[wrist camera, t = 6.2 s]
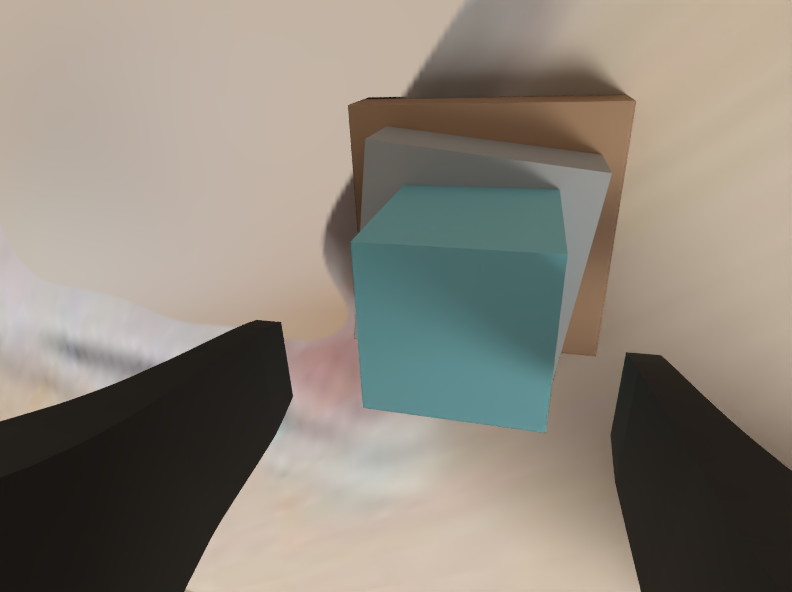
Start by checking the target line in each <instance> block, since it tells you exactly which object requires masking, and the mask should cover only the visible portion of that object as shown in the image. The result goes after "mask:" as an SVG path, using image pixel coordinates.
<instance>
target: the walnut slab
mask: <svg viewBox="0 0 792 592" xmlns="http://www.w3.org/2000/svg"><path fill="white" fill-rule="evenodd" d="M635 105H636V101H635V100H634V99H632V98H631V97H629V96H628V95H586V96H528V97H471V98H414V99H402V97H368V98H366V99H363V100H361V101H358V102H355V103H353V104H350V105H348V111H349V124H350V137H351V150H352V163H353V176H354V189H355V202H356V215H357V229H358V233H359V232H360V224H361V205H362V187H363V169H364V151H365V139H366V138H368V137H369V136H371V135H373V134H374V133H376V132H378V131H379V130H381V129H383V128H384V127H386V126H390V127H397V128H405V129H412V130H420V131H428V132H435V133H443V134H450V135H458V136H465V137H473V138H480V139H488V140H495V141H503V142H510V143H518V144H525V145H533V146H540V147H548V148H555V149H563V150H570V151H578V152H585V153H593V154H600V155H603V157H604V159H605V161H606V163H607V165H608V167H609V168H610V170H611V172H612V175H611V179H610V182H609V186H608V189H607V193H606V196H605V200H604V203H603V207H602V210H601V214H600V218H599V221H598V225H597V228H596V232H595V235H594V239H593V242H592V246H591V249H590V253H589V256H588V260H587V263H586V267H585V270H584V274H583V277H582V281H581V284H580V288H579V291H578V295H577V298H576V302H575V305H574V309H573V312H572V316H571V319H570V323H569V326H568V330H567V333H566V337H565V340H564V344H563V347H562V351H561V353H566V354H577V355H588V356H596V351H597V344H598V338H599V332H600V326H601V319H602V313H603V307H604V300H605V294H606V288H607V281H608V275H609V269H610V263H611V256H612V250H613V244H614V237H615V231H616V225H617V218H618V212H619V206H620V200H621V193H622V187H623V181H624V174H625V168H626V162H627V155H628V149H629V143H630V137H631V130H632V124H633V118H634V111H635Z"/></svg>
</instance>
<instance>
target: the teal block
mask: <svg viewBox="0 0 792 592" xmlns="http://www.w3.org/2000/svg"><path fill="white" fill-rule="evenodd" d="M351 254H352V268H353V281H354V294H355V307H356V321H357V334H358V347H359V361H360V374H361V387H362V400H363V408H368V409H376V410H383V411H390V412H397V413H405V414H412V415H419V416H426V417H434V418H441V419H448V420H455V421H463V422H470V423H477V424H484V425H492V426H499V427H506V428H513V429H521V430H528V431H535V432H543V433H546V426H547V418H548V410H549V402H550V393H551V385H552V377H553V369H554V361H555V353H556V345H557V337H558V329H559V321H560V313H561V305H562V297H563V288H564V280H565V272H566V264H567V256H568V253H567V244H566V236H565V228H564V220H563V211H562V203H561V195H560V189H528V188H496V187H463V186H430V185H403V186H402V187H401V188H400V189H399V191H398V192H397V193H396V194H395V195H394V196H393V197H392V198H391V199H390V200H389V201H388V202H387V203H386V204H385V205H384V207H383V208H382V209H381V210H380V211H379V212H378V213H377V214H376V215H375V216H374V217H373V218H372V219H371V220H370V221H369V223H368V224H367V225H366V226H365V227H364V228H363V229H362V230H361V231H360V232H359V233H358V234H357V235H356V236H355V237H354V239H353V240H352V241H351Z"/></svg>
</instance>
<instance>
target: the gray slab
mask: <svg viewBox="0 0 792 592" xmlns="http://www.w3.org/2000/svg"><path fill="white" fill-rule="evenodd" d="M611 175H612V172H611V170H610V168H609V167H608V165H607V163H606V161H605V159H604V157H603V155H600V154H593V153H585V152H578V151H570V150H563V149H555V148H548V147H540V146H533V145H525V144H518V143H510V142H503V141H495V140H488V139H480V138H473V137H465V136H458V135H450V134H443V133H435V132H428V131H420V130H412V129H405V128H397V127H390V126H386V127H384V128H383V129H381V130H379V131H378V132H376V133H374V134H373V135H371V136H369V137H368V138H366V139H365V151H364V169H363V187H362V205H361V224H360V231H361V230H362V229H363V228H364V227H365V226H366V225H367V224H368V223H369V221H370V220H371V219H372V218H373V217H374V216H375V215H376V214H377V213H378V212H379V211H380V210H381V209H382V208H383V207H384V205H385V204H386V203H387V202H388V201H389V200H390V199H391V198H392V197H393V196H394V195H395V194H396V193H397V192H398V191H399V189H400V188H401V187H402V186H403V185H430V186H463V187H496V188H528V189H560V195H561V203H562V211H563V220H564V228H565V236H566V244H567V253H568V256H567V264H566V272H565V280H564V288H563V297H562V305H561V313H560V321H559V329H558V337H557V345H556V353H555V361H554V369H553V377H552V380H553V379H554V376H555V372H556V369H557V365H558V361H559V358H560V354H561V351H562V347H563V344H564V340H565V337H566V333H567V330H568V326H569V323H570V319H571V316H572V312H573V309H574V305H575V302H576V298H577V295H578V291H579V288H580V284H581V281H582V277H583V274H584V270H585V267H586V263H587V260H588V256H589V253H590V249H591V246H592V242H593V239H594V235H595V232H596V228H597V225H598V221H599V218H600V214H601V210H602V207H603V203H604V200H605V196H606V193H607V189H608V186H609V182H610V179H611ZM354 339H358V334H357V321H356V314H355V332H354Z"/></svg>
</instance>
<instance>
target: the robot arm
mask: <svg viewBox="0 0 792 592" xmlns="http://www.w3.org/2000/svg"><path fill="white" fill-rule="evenodd" d="M292 397H293V394H292V387H291V381H290V375H289V369H288V362H287V356H286V350H285V344H284V338H283V331H282V325H281V322H274V321H262V320H255V321H252V322H249V323H247V324H245V325H242V326H239V327H237V328H235V329H233V330H230V331H228V332H226V333H224V334H222V335H220V336H218V337H216V338H214V339H212V340H210V341H207V342H205V343H203V344H201V345H199V346H197V347H195V348H193V349H191V350H189V351H187V352H185V353H183V354H181V355H178V356H176V357H174V358H172V359H170V360H168V361H166V362H163V363H161V364H159V365H157V366H154V367H152V368H150V369H148V370H145V371H143V372H141V373H139V374H136V375H134V376H132V377H130V378H127V379H125V380H123V381H120V382H118V383H115V384H113V385H110V386H108V387H105V388H102V389H100V390H97V391H94V392H92V393H89V394H86V395H83V396H81V397H78V398H75V399H72V400H69V401H66V402H63V403H60V404H57V405H54V406H51V407H47V408H44V409H41V410H37V411H34V412H31V413H27V414H24V415H21V416H17V417H14V418H11V419H7V420H4V421H0V592H184V591H185V589H186V587H187V585H188V582H189V580H190V578H191V577H192V575H193V573H194V571H195V569H196V567H197V565H198V563H199V561H200V559H201V557H202V555H203V553H204V551H205V549H206V547H207V545H208V543H209V541H210V539H211V537H212V535H213V534H214V532H215V530H216V529H217V527H218V525H219V523H220V522H221V520H222V518H223V517H224V515H225V514H226V512H227V511H228V509H229V507H230V506H231V504H232V503H233V501H234V500H235V498H236V497H237V495H238V493H239V492H240V490H241V489H242V487H243V486H244V484H245V483H246V481H247V479H248V478H249V476H250V475H251V473H252V472H253V470H254V469H255V467H256V465H257V464H258V462H259V461H260V459H261V458H262V456H263V454H264V453H265V451H266V450H267V448H268V446H269V445H270V443H271V442H272V440H273V438H274V437H275V435H276V433H277V431H278V429H279V427H280V425H281V423H282V420H283V418H284V416H285V414H286V411H287V409H288V407H289V404H290V402H291V400H292ZM611 444H612V455H613V465H614V475H615V483H616V487H617V492H618V496H619V501H620V505H621V509H622V514H623V518H624V522H625V526H626V531H627V535H628V539H629V543H630V547H631V551H632V556H633V560H634V564H635V568H636V572H637V577H638V581H639V585H640V589H641V592H792V471H791V470H790V469H788V468H787V467H786V466H785V465H783V464H782V463H781V462H780V461H778V460H777V459H776V458H775V457H773V456H772V455H771V454H770V453H769V452H767V451H766V450H765V449H764V448H762V447H761V446H760V445H759V444H757V443H756V442H755V441H754V440H753V439H751V438H750V437H749V436H748V435H747V434H746V433H744V432H743V431H742V430H741V429H740V428H739V427H737V426H736V425H735V424H734V423H733V422H732V421H731V420H730V419H728V418H727V417H726V416H725V415H724V414H723V413H722V412H721V411H720V410H718V409H717V408H716V407H715V406H714V405H713V404H712V403H711V402H710V401H709V400H708V399H707V398H706V397H704V396H703V395H702V394H701V393H700V392H699V391H698V390H697V389H696V388H695V387H694V386H693V385H692V384H691V383H690V382H689V381H688V380H687V379H686V378H685V377H684V376H683V375H681V374H680V373H679V372H678V371H677V370H676V369H675V368H674V367H673V366H672V365H671V364H670V363H669V362H668V361H667V360H666V359H664V358H663V357H662V356H661V355H650V354H639V353H628V352H626V356H625V362H624V367H623V372H622V378H621V383H620V388H619V394H618V399H617V404H616V410H615V415H614V420H613V426H612V431H611Z"/></svg>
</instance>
